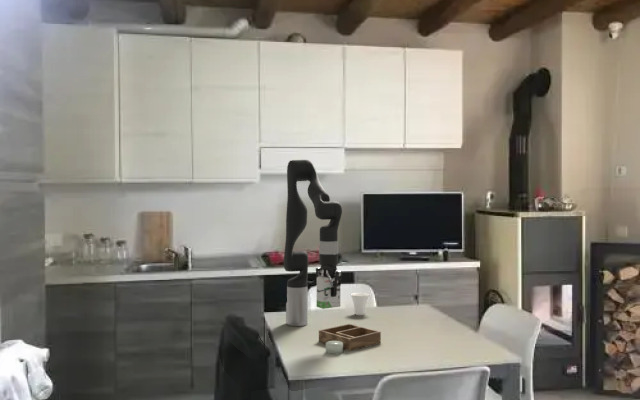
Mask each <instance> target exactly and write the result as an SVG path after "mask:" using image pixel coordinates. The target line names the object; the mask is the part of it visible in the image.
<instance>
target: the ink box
mask: <svg viewBox="0 0 640 400" xmlns="http://www.w3.org/2000/svg"><path fill="white" fill-rule="evenodd" d="M331 279H335V278H331ZM337 283H338V281H337ZM333 284H334V281H333ZM340 307H341V285H340V286H337V295H336V297H331V284H330V282H329V278H327V277H317V276H316V308H319V309H322V310H324V309H330V308H332V309H333V308H340Z"/></svg>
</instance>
